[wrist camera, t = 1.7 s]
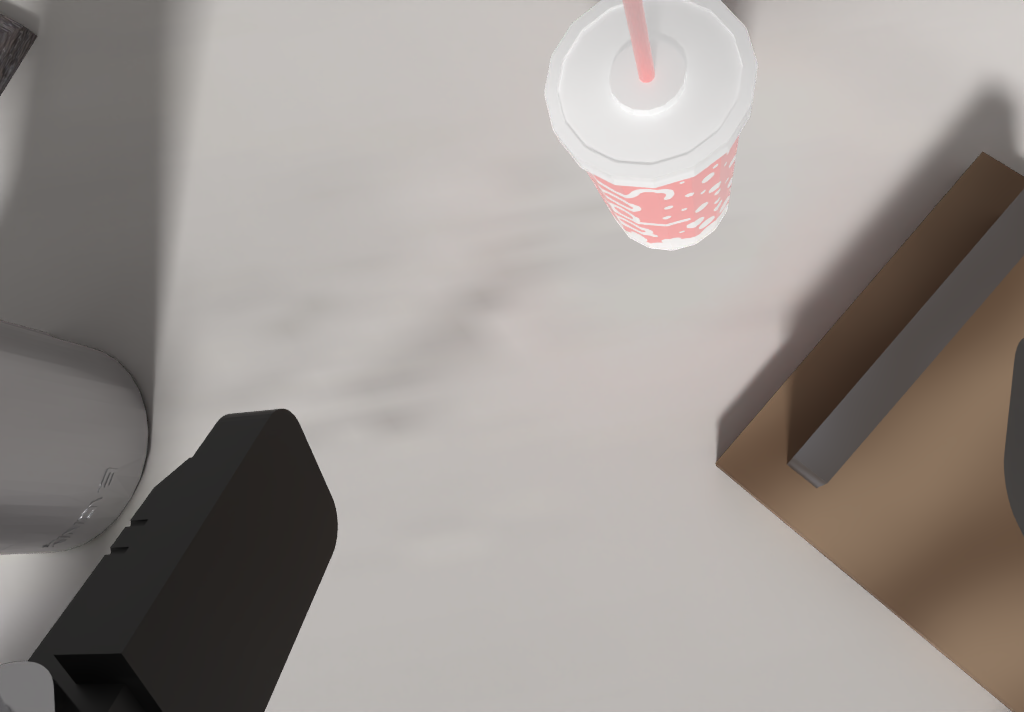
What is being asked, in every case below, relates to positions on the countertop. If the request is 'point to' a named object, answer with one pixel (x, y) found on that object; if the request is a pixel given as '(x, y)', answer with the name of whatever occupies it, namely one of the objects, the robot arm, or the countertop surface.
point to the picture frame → (12, 48)
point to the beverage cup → (655, 111)
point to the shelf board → (916, 433)
